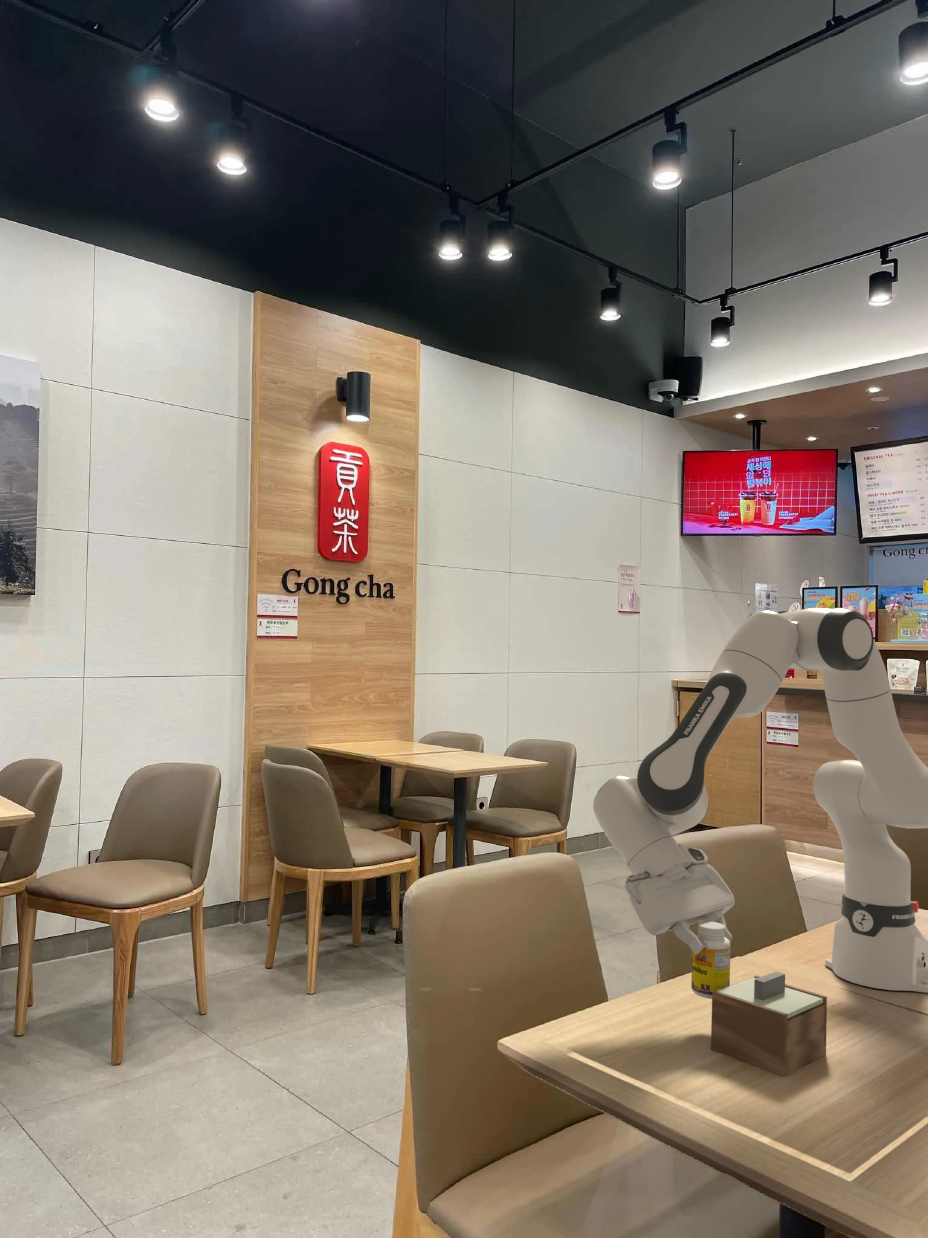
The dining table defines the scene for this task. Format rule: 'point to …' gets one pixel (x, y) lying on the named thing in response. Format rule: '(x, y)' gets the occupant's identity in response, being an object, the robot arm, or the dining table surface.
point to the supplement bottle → (711, 960)
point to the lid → (773, 994)
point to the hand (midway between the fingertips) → (714, 946)
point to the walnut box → (768, 1033)
